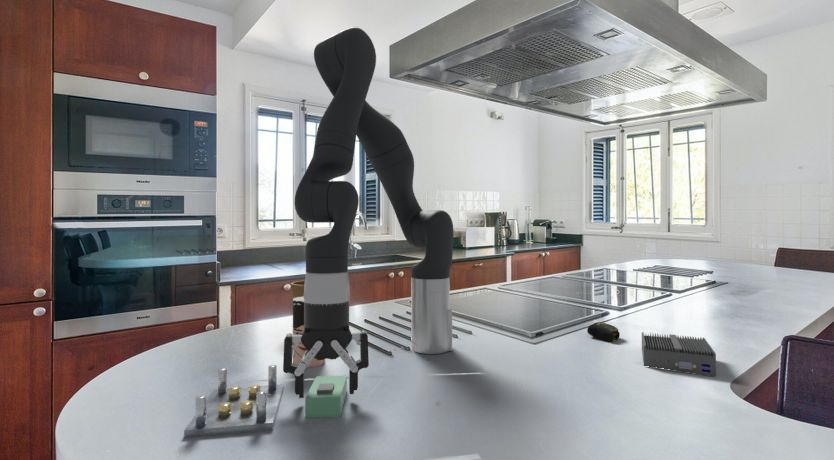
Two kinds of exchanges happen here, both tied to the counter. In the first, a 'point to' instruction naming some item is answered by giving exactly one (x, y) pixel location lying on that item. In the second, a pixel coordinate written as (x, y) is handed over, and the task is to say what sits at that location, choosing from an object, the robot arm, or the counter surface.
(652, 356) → the electronic device
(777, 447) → the counter surface
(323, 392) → the green block
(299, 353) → the printed cylinder
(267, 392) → the chassis
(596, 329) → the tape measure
